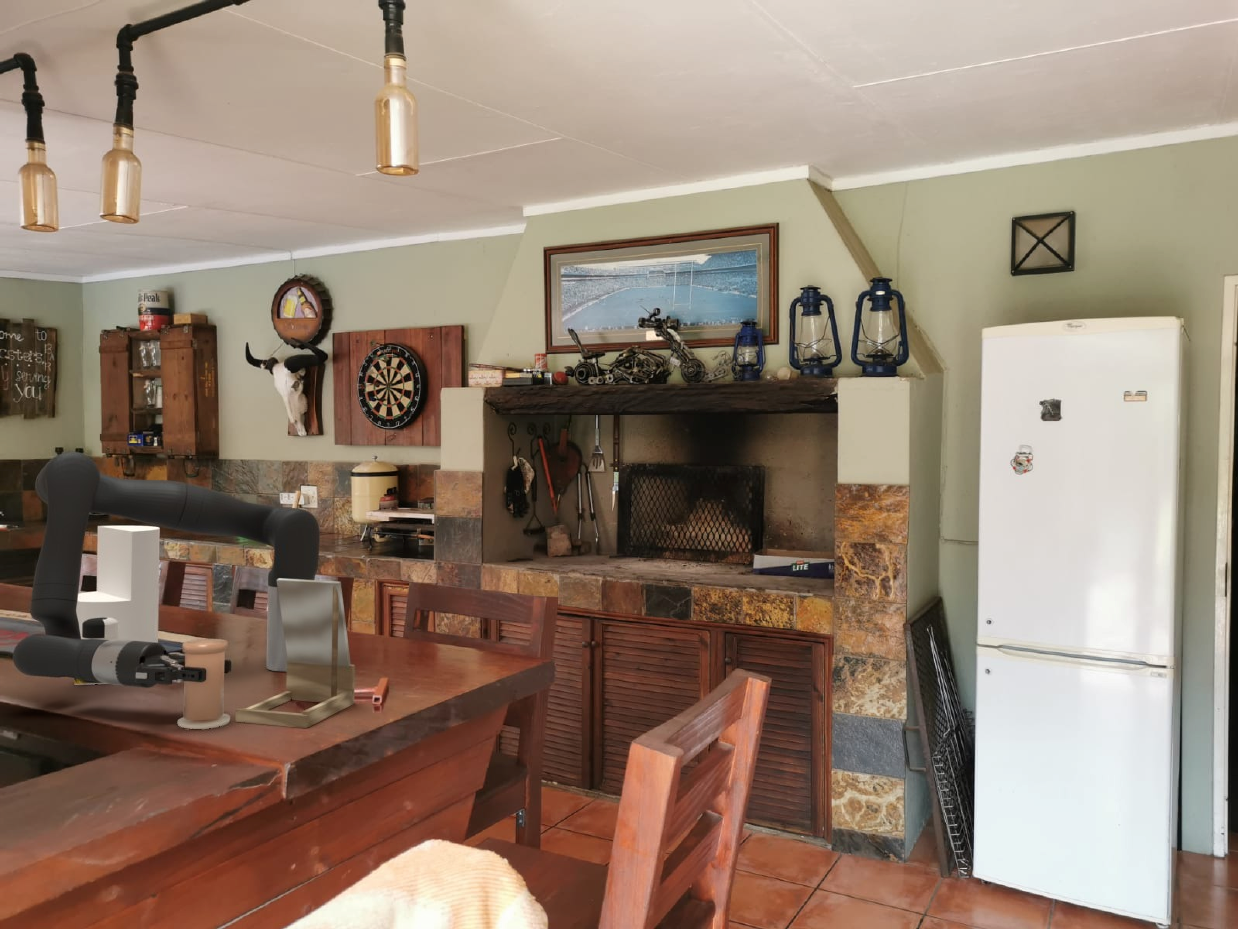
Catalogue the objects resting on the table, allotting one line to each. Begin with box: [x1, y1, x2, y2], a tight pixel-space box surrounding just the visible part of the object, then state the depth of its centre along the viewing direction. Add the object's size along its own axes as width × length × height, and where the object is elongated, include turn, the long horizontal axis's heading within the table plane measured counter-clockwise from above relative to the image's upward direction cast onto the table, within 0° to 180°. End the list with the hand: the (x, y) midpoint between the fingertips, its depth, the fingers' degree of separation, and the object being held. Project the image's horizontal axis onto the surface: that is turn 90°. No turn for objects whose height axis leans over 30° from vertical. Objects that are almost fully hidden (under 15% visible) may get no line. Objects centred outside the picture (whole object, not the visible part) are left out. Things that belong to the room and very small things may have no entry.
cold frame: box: [235, 578, 356, 729], centre depth 164 cm, size 16×13×23 cm
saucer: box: [176, 712, 231, 730], centre depth 156 cm, size 8×8×1 cm
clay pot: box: [182, 638, 229, 720], centre depth 156 cm, size 7×7×12 cm
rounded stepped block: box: [76, 525, 161, 643], centre depth 200 cm, size 17×17×28 cm
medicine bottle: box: [73, 618, 118, 686], centre depth 183 cm, size 7×7×12 cm
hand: (217, 671), depth 156 cm, fingers closed on clay pot, 6 cm apart
